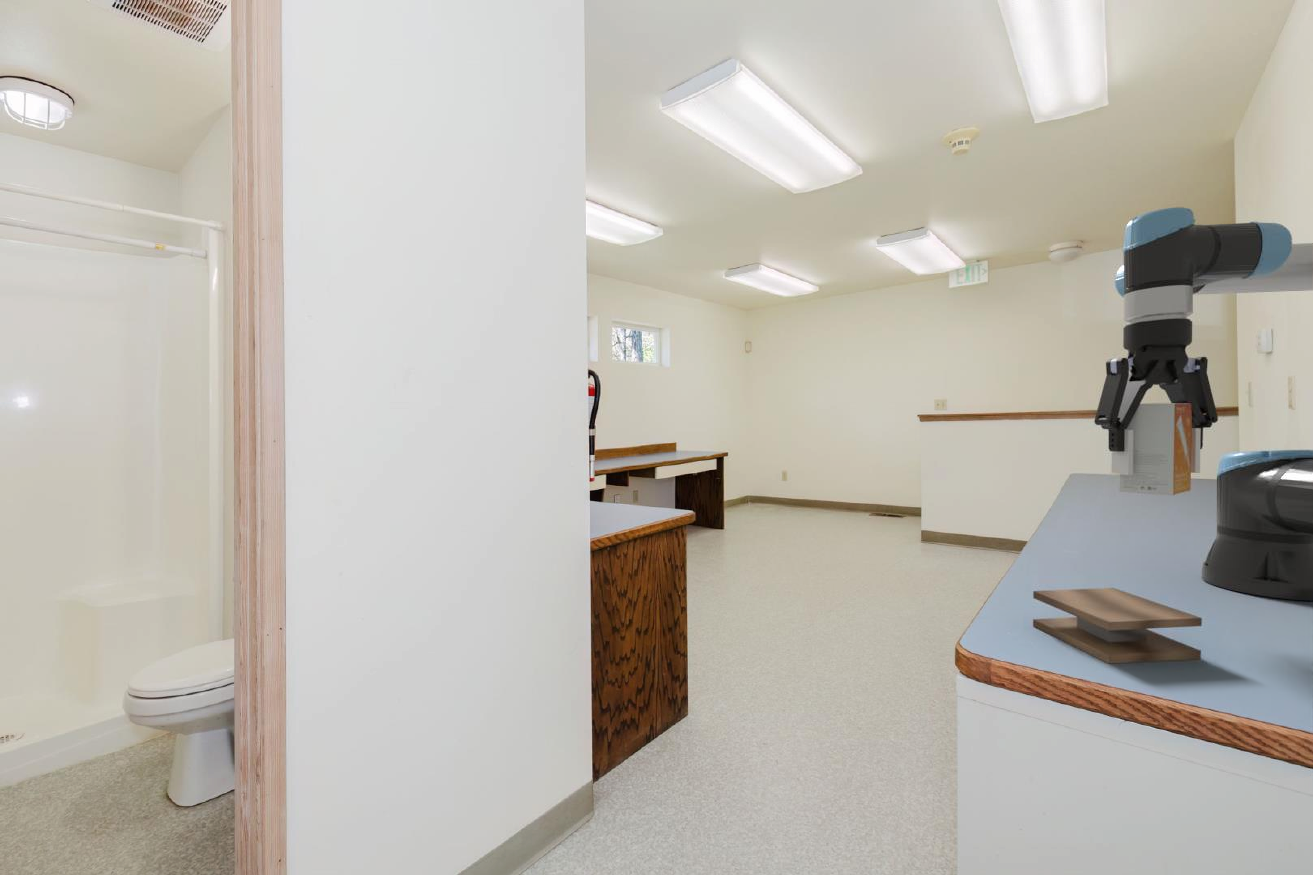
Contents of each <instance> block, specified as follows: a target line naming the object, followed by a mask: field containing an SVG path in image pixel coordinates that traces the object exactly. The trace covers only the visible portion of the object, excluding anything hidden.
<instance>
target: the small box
mask: <svg viewBox="0 0 1313 875" xmlns="http://www.w3.org/2000/svg"><path fill="white" fill-rule="evenodd" d="M1125 430H1133V475H1123V474H1119V478H1118V479H1119V480H1118V482H1119V484H1118V486H1119V488H1118V491H1119V492H1121V493H1122V492H1123V493H1134V494H1136V493H1137V494H1146V495H1147V494H1148V495H1163V496H1175V495H1178V494H1181V493H1187V492H1190V491H1191V488H1192V487H1191V485H1192V484H1191V480H1192V479H1191V476H1192V473H1191V437H1192V412H1191V404H1189V403H1171V402H1170V403H1169V402H1167V403H1166V402H1165V403H1164V402H1163V403H1162V402H1161V403H1159V402H1158V403H1140V405H1139V407H1138V409H1137V410H1136V412H1135V414H1134V416H1133V418H1132V420H1131V422H1130V424H1129V426H1128V427H1127V429H1125Z"/></svg>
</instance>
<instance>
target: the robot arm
mask: <svg viewBox="0 0 1313 875" xmlns="http://www.w3.org/2000/svg"><path fill="white" fill-rule="evenodd" d="M1195 223H1196V219H1195V217H1194V211H1193V210H1192V209H1191V208H1188V207H1187V208H1186V207H1183V206H1180V207H1167V208H1161V209H1157V210H1152V211H1149V212H1146V213H1143V214H1140V215H1138V216H1136V217H1133V219H1131V220H1130V221H1128V223H1127V224H1126V226H1125V232H1124V238H1123V239H1124V240H1123V249H1122V252H1123V264H1122V265H1121V266H1120V267H1119V268H1118V270H1117V272H1116V274H1115V278H1114V285H1115V289H1116V292H1118V294H1119V295H1120V296H1121V297H1122V298H1123V321H1125V322H1126V323H1128V324H1126V325H1125V326H1124V327H1122V328H1123V331H1122V332H1123V336H1122V337H1123V338H1122V340H1123V344H1122V347H1123V349H1124V350H1127V356H1126V357H1119V358H1111V359H1108V360H1106V362H1105V369H1106V377H1105V380H1104V384H1103V387H1102V392H1101V393H1100V394H1101V395H1100V399H1099V403H1098V406H1097V408H1096V409H1097V410H1096V414H1095V417H1094V422H1093V423H1094V424H1095V425H1096V426H1100V427H1101V428H1102V429H1103V430H1108V450H1109V452H1111V474H1114V475H1120V474H1123V475H1133V430H1125V429H1127V427H1128V426H1129V424H1130V422H1131V420H1132V418H1133V416H1134V414H1135V412H1136V410H1137V409H1138V407H1139V405H1140V404H1142V401H1143V399H1144V397H1145V395H1146V394H1147V392H1148V390H1150V389H1152V388H1153V386H1159V388H1160V389H1162V390H1163V391H1165V393H1166V396H1167V397H1168V400H1169V401H1170V403H1189V404H1191V412H1192V437H1191V474H1192V473H1193V474H1200V473H1201V450H1202V449H1203V447H1204V428H1205V429H1206V428H1207V429H1208V428H1211V427H1212V426H1213V424H1214V423H1217V422H1218V420H1219V418H1218V417H1219V416H1218V412H1217V408H1216V405H1215V400H1214V396H1213V391H1212V389H1211V388H1212V387H1211V384H1210V380H1209V377H1208V362H1209V361H1208V358H1207V357H1206V356H1198V357H1188V353H1187V352H1186V349H1187V347H1188V346H1190V345H1191V344H1192V343H1193V321H1191V319H1190V318H1188V317H1191V315H1192V314H1193V313H1194V307H1193V306H1194V304H1193V303H1194V296H1193V295H1195V296H1196V295H1197V296H1199V295H1220V294H1224V295H1225V294H1247V293H1251V294H1252V293H1253V294H1254V293H1274V292H1275V293H1277V292H1278V293H1279V292H1302V291H1303V292H1304V291H1305V292H1306V291H1310V292H1311V291H1313V242H1309V243H1308V242H1307V243H1306V242H1305V243H1293V236H1292V233H1291V231H1290V230H1289V229H1288V228H1287V227H1286V226H1285V225H1283V224H1281V223H1276V222H1259V221H1255V220H1254V221H1250V222H1240V223H1224V224H1222V223H1220V224H1195ZM1215 477H1216V536H1215V540H1214V542H1213V543H1212V545H1211V548H1210V550H1209V551H1208V553H1207V556H1206V559H1205V561H1204V562H1203V563H1202V566H1201V579H1202V580H1203V581H1204V582H1206V583H1209V584H1210V585H1213V586H1217V587H1220V588H1224V589H1227V590H1231V591H1236V592H1240V593H1244V594H1250V595H1255V596H1256V595H1257V596H1261V597H1269V598H1277V599H1284V600H1294V601H1295V600H1296V601H1313V449H1277V450H1276V449H1275V450H1254V451H1238V452H1229V453H1226V454H1224V455H1222V456H1221V457H1220V459H1219V462H1218V469H1217V473H1216V476H1215Z"/></svg>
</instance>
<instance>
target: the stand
mask: <svg viewBox="0 0 1313 875" xmlns="http://www.w3.org/2000/svg"><path fill="white" fill-rule="evenodd" d="M1032 596H1033V597H1032V598H1033V599H1035V600H1037V601H1039V602H1041V603H1044V604H1046V605H1049V606H1051V607H1053V608H1056V609H1057V610H1060V611H1063V612H1065V613H1068V615H1069V614H1070V615H1072V617H1054V618H1053V617H1051V618H1035V619H1034V618H1033V619H1032V627H1034V628H1036V629H1038V630H1039V631H1042V632H1044V633H1046V634H1048V635H1050V636H1052V637H1054V638H1056V639H1057V640H1060V641H1062V642H1064V643H1066V644H1068V645H1070V646H1072V647H1074V648H1077V649H1079V651H1083V652H1084V653H1087V654H1089V655H1091V656H1092V657H1094V658H1096V659H1098V660H1100V661H1103V662H1105V663H1107V664H1121V663H1144V662H1146V663H1147V662H1161V661H1164V662H1165V661H1179V660H1180V661H1184V660H1185V661H1186V660H1201V658H1202V650H1200V649H1198V648H1196V647H1193V646H1190V645H1188V644H1185V643H1183V642H1180V641H1178V640H1176V639H1172V638H1170V637H1168V636H1166V635H1163V634H1161V633H1157V632H1155V631H1152V630H1150V629H1169V628H1189V627H1202V623H1203V621H1202V619H1203V618H1202V617H1200V616H1197V615H1195V614H1191V613H1188V612H1186V611H1183V610H1180V609H1177V608H1173V607H1171V606H1168V605H1165V604H1161V603H1159V602H1156V601H1153V600H1150V599H1147V598H1144V597H1141V596H1138V595H1135V594H1132V593H1129V592H1126V591H1124V590H1120V589H1118V588H1114V587H1106V588H1105V587H1103V588H1102V587H1101V588H1098V587H1097V588H1078V589H1076V588H1075V589H1072V588H1071V589H1055V590H1054V589H1053V590H1051V589H1050V590H1048V589H1047V590H1033V595H1032ZM1073 616H1074V617H1073Z"/></svg>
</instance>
